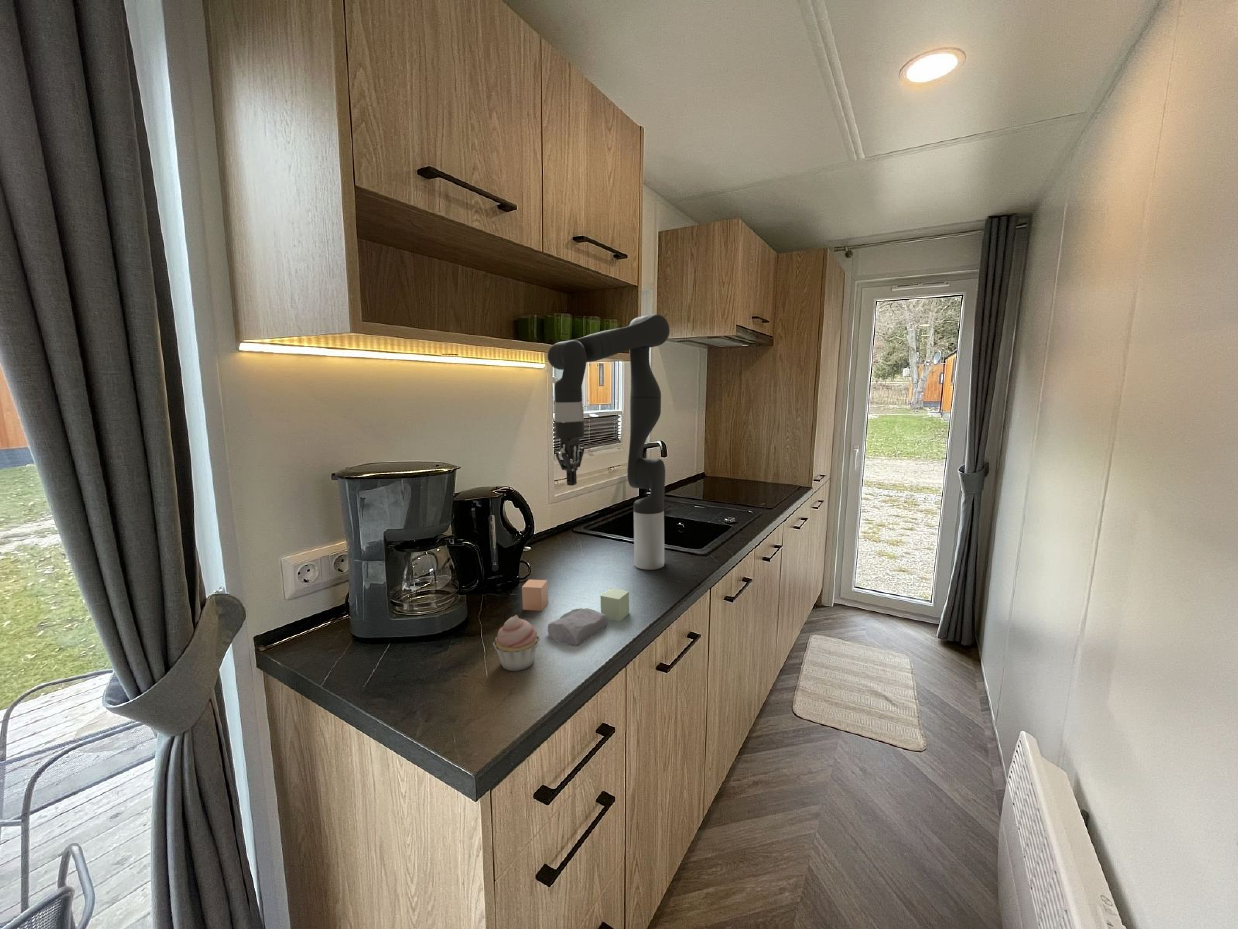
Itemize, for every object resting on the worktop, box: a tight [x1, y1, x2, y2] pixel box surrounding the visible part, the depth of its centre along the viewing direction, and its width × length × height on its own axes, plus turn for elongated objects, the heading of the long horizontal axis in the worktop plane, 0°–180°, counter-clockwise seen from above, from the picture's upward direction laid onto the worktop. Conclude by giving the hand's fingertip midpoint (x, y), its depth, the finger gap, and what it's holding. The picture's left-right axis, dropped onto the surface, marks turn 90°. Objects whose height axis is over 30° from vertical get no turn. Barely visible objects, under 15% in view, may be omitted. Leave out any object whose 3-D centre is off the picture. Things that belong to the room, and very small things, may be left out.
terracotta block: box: [521, 578, 549, 612], centre depth 126 cm, size 5×5×6 cm
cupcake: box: [492, 614, 542, 672], centre depth 99 cm, size 9×9×10 cm
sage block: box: [600, 588, 630, 622], centre depth 120 cm, size 5×5×6 cm
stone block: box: [547, 607, 608, 647], centre depth 112 cm, size 12×5×10 cm
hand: (571, 484), depth 133 cm, fingers closed
